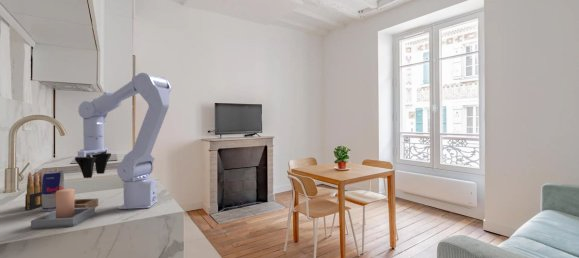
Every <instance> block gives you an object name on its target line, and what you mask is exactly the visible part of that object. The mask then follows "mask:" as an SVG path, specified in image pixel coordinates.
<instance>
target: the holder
mask: <svg viewBox="0 0 579 258" xmlns="http://www.w3.org/2000/svg"><path fill="white" fill-rule="evenodd" d="M89 207H95V208H97V207H99V198H77V199H75V198H74V208H89Z"/></svg>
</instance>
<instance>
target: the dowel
mask: <svg viewBox="0 0 579 258" xmlns="http://www.w3.org/2000/svg"><path fill="white" fill-rule="evenodd" d="M75 190H76V189H75V188H64V189H63V190H58V191H56V218H72V217H74V200H75V195H76V193H75Z"/></svg>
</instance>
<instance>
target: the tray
mask: <svg viewBox="0 0 579 258" xmlns="http://www.w3.org/2000/svg"><path fill="white" fill-rule="evenodd" d="M95 214H96V207H89V208H74V217H72V218H56V210H55V211H49V212H48V213H46V214H43V215H42V216H39V217H37V218H35V219H32V220H30V228H31V229H44V228H45V229H46V228H66V227H74V226H77V225H78V224H80V223H81V222H83V221H85V220H87V219H88V218H90V217H92V216H94V215H95Z"/></svg>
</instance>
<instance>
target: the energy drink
mask: <svg viewBox="0 0 579 258" xmlns="http://www.w3.org/2000/svg"><path fill="white" fill-rule="evenodd" d="M63 189H65V175H64V171H63V170H58V171H55V170H53V171H51V170H48V172H45V171H43V174H42V207H41V210H42V211H43V212H46V213H47V212H48V213H49V212H52V211H55V210H56V191H58V190H63Z"/></svg>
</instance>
